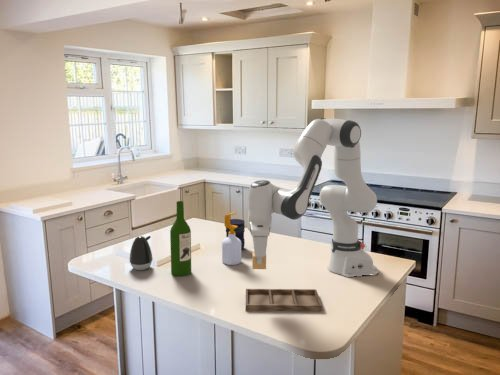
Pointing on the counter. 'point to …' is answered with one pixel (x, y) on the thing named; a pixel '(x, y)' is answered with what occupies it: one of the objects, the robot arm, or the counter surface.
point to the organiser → (282, 300)
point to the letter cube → (258, 266)
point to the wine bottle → (180, 244)
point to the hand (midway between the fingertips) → (259, 260)
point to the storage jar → (238, 230)
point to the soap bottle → (231, 245)
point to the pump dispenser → (141, 253)
